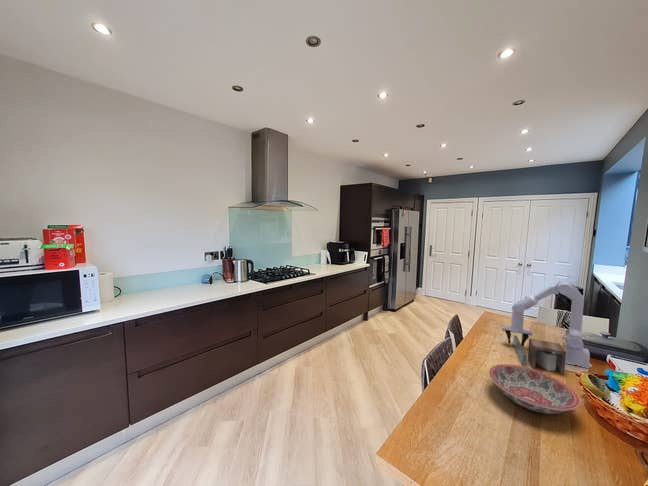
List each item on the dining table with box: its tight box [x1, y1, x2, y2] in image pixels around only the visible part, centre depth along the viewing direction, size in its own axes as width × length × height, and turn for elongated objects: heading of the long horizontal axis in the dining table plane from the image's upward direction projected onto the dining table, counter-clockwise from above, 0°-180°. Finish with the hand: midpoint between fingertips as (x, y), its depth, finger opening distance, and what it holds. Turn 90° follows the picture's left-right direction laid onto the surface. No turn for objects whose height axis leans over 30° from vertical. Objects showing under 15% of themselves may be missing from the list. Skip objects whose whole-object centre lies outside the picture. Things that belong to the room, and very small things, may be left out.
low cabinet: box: [527, 338, 566, 376], centre depth 131 cm, size 12×10×12 cm
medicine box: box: [536, 349, 557, 372], centre depth 131 cm, size 8×4×9 cm, turn 179°
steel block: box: [512, 334, 528, 367], centre depth 144 cm, size 2×27×6 cm, turn 151°
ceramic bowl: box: [488, 363, 581, 415], centre depth 105 cm, size 29×29×8 cm
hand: (515, 344), depth 153 cm, fingers open, 6 cm apart
